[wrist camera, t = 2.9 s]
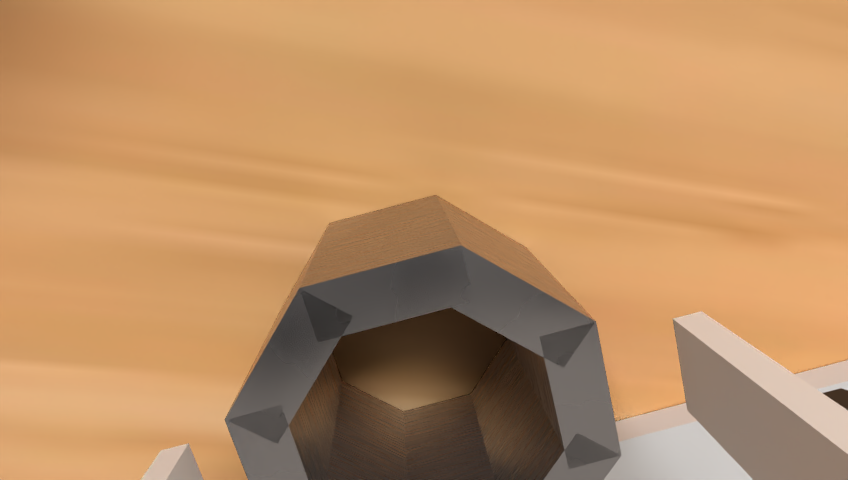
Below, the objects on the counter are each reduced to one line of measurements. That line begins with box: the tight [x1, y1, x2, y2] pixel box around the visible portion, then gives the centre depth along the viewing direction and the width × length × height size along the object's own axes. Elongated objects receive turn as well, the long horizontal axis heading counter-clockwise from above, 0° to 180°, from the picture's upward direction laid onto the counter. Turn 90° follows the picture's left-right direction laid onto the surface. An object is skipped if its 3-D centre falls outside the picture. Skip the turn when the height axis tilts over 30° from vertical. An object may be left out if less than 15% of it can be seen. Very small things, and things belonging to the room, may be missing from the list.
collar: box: [225, 195, 621, 480], centre depth 17 cm, size 9×9×7 cm
